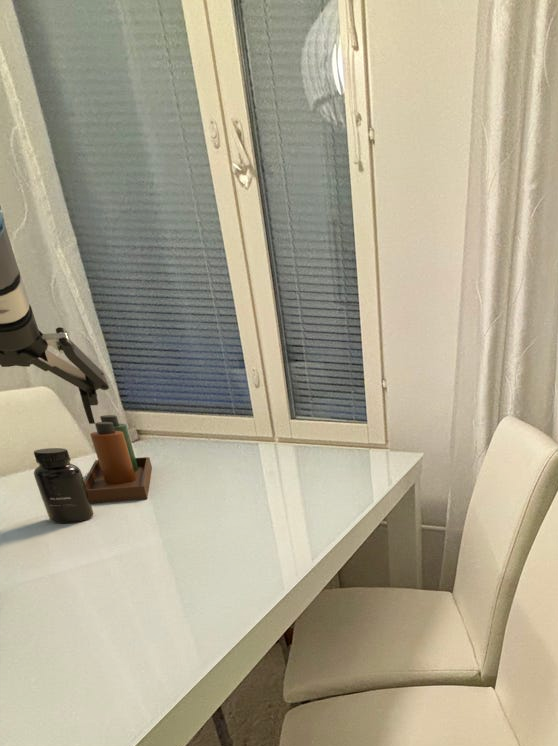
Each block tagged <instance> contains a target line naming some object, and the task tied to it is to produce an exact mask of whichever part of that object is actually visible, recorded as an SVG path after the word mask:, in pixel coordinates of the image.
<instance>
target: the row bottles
mask: <svg viewBox="0 0 558 746" xmlns="http://www.w3.org/2000/svg"><path fill="white" fill-rule="evenodd" d="M99 418H100V421H99V422H95V424H94V425H95V429H96V431H94V432H90V433H89V435H90V438H91V441H92V444H93V448H94V451H95V455H96V458H97V460H98V461H99V464H100V467H101V470H102V474H103V477H104V480H105V482H106V483H111V484H119V483H127V482H132V481H134V480H136V476H135V473H134V471H137V470H138V465H137V462H136V458H137V457H136V455H135V452H134V447H133V445H132V440H131V436H130V432H129V429H128V426H127V424H125V423H120V422H119V419H118V415H115V414H105V415H100V416H99Z"/></svg>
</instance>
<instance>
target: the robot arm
mask: <svg viewBox="0 0 558 746" xmlns="http://www.w3.org/2000/svg"><path fill="white" fill-rule="evenodd" d="M4 216H5V215H4V212H2V206H1V205H0V367H1V368H10V367H16V366H17V367H26V368H27V367H31V365H33V366H35V367H37V368H38V369H41V370H42V371H43V372H50V373H52V374H54V375H55V376H57V377H59V378H61V379H62V380H64V381H66V382H68V383H69V384H71V385H73V386H74V387H76V388H78V391H79V394H80V398H81V402H82V405H83V409H84V413H85V414H86V418H87V421H88V424H89V425H90V424H91V425H93V424H94V425H95V423H96V422H95V419H94V414H93V411H92V410H93V409H92V407H91V406H98V404H99V399H98V393H97V390H99V389H100V390H102V391H107V390H109V389H110V386H109V384H108V381H107V378H106V374H105V373H104V371H103V370H102V369H100V368H99V366H98V365H97V364H95V362H94V361H93V360H92V359H90V357H89V356H87V354H85V353H84V352H83V351H82V350H81V348H79V347H78V346H77V345H76V344H75V343H74V342H73V341H72V340H71V338H70V336H69V333H68V331H67V329H66V328H64V327H60V326H59V327H56V328H55V332H53V333H43V332H42V331H41V330H40V329H39V327H38V324H37V320H36V317H35V315H34V312H33V308H32V306H31V304H30V298H29V296H28V293H27V290H26V285H25V284H24V280H23V276H22V273H21V271H20V269H19V266H18V262H17V260H16V256H15V253H14V249H13V247H12V242H11V240H10V237H9V236H10V235H9V234H8V229H7V227H6V223H5V218H4ZM48 347H53V348H54V349H55V350H57V351H58V352H59V354H64V355H65V357H66V358H67V360H69V361H70V362H71V363H70V362H68V361H66V360H65V359H63V358H61V357H60V356H58V355H56V354H54V353H53V352H51V351H50V349H48Z"/></svg>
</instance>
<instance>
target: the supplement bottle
mask: <svg viewBox="0 0 558 746" xmlns="http://www.w3.org/2000/svg"><path fill="white" fill-rule="evenodd" d="M33 455H34V457H35V462H36V463H37V464H38V466H37V467H36V468H35V469H34V471H33V476H34V479H35V482H36V486H37V488H38V491H39V493H40V496H41V499H42V502H43V505H44V508H45V511H46V513H47V516H48V518H49V520H50V521H51V522H53V523H57V524H74V523H79V522H85V521H88V520H90V519H92V518H93V517H94V514H95V513H94V509H93V507H92V503H90V499H89V496H88V493H87V490H86V486H85V483H84V480H85V479H84V476H83V474H82V471H81V469H80V468H79V467H78V466H77V465H75V464H74V463H73V464H72V463H71V457H70V454H69V451H68V449H67V448H61V447H48V448H40V449H36V450H34V451H33Z"/></svg>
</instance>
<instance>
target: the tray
mask: <svg viewBox="0 0 558 746" xmlns="http://www.w3.org/2000/svg"><path fill="white" fill-rule="evenodd" d="M135 458H136V462H137V465H138V470H137V471H134V473H135V476H136V480H134V481H132V482H127V483H119V484H111V483H106V482H105V480H104V477H103V474H102V470H101V467H100V464H99V461H98V459H95V460H94V461H93V464H92V465H91V467H90V469H89V471H88V473H87V475H86V477H85V478H84V479H83V480H84V483H85V486H86V490H87V493H88V496H89V499H90V503H91V504H102V503H114V502H127V501H138V500H147V499H148V496H149V490H150V485H151V484H150V483H151V479H152V471H153V466H152V462H151V459H150V457H148V456H146V457H135Z"/></svg>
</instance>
